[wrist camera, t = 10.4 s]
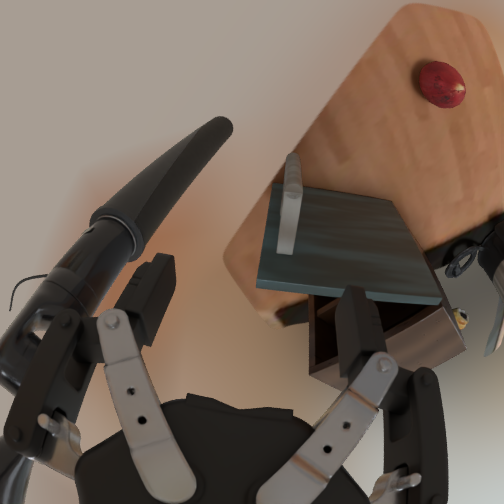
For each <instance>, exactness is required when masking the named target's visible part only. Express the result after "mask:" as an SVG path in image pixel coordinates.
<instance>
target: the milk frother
mask: <svg viewBox="0 0 504 504" xmlns="http://www.w3.org/2000/svg"><path fill="white" fill-rule="evenodd" d="M477 250H479V252H478V263H479V265H480V266H481V267H482V268H484V270H485V272H486V273H487V275H488V276H489V278H490V280H491V281H492V283H493V284H494V286H495V288H496V290H497V292H498V293H499V295H500V297H501V299H502V301H503V303H504V221H502V222H500V223H498V224H497V225H496V226H495V231H494V232H492V233H491V234H490V235H489V236H488V237H487V238H486V239H485V240H484V242H483V243H482V245H481V246H472V247H469V248H467V249H465V250H463V251H462V252H461V253H459V254H458V255H457V256H456V257H455V258H454V259H453V260H452V261H451V262H450V264H449V265H448V267H447V268H446V270H445V274H446V276H447V277H448V278H453V277H455V278H457V277H459V276H460V275H461V274H462V273H463V272H464V271H465V270H466V269H467V268H468V267H469V266H470V265H471V263H472V262H473V261H474V259H475V257H476V254H477ZM469 254H471V256H470V258H469V259H468V261H467V262H466V263H465V265H464V266H463V267H461V268H460V265H459V261H460V260H461V259H463V258H464V257H465V256H466V255H469Z"/></svg>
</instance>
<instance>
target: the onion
mask: <svg viewBox="0 0 504 504" xmlns="http://www.w3.org/2000/svg"><path fill="white" fill-rule="evenodd" d="M419 85H420V88H421V91H422V93H423V95H424V96H425V97H426V98H427V100H428V101H429V102H431V103H432V104H434V105H436V106H438V107H440V108H453V107H455V106H458V105H459V104H460V103H461V102H462V101H463V99H464V97H465V93H466V89H465V83H464V81H463V79H462V77H461V75H460V74H459V73H458V71H457V70H456V69H455V68H453V67H452V66H450V65H449V64H447V63H444V62H438V61H434V62H431V63H429V64H426V65H425V66H424V67H423V68H422V70H421V73H420V76H419Z"/></svg>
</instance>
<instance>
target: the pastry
mask: <svg viewBox="0 0 504 504" xmlns="http://www.w3.org/2000/svg"><path fill="white" fill-rule="evenodd" d="M452 311H453V313H454V316H455V318H456V321H457V323H458V326H459V328H460V330H461V329H463V328H465V325H466V324H467V323H468V320H469V316H468V314H467V313H466V312H465V311H464V310H461V309H460V308H455V309H452Z"/></svg>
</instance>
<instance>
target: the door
mask: <svg viewBox="0 0 504 504" xmlns="http://www.w3.org/2000/svg"><path fill="white" fill-rule="evenodd" d="M347 285H355V286H362V287H364V289H365V293H366V297H367V298H368V299H372V300H373V301H385V302H397V303H411V304H425V305H439V303H440V301H441V300H442V295H441V293H440V291H439V289H438V286H437V284H436V282H435V280H434V278H433V276H432V274H431V272H430V269H429V267H428V265H427V263H426V261H425V259H424V257H423V256H422V254H421V252H420V250H419V248H418V246H417V244H416V242H415V241H414V239H413V237H412V235H411V233H410V232H409V230H408V228H407V226H406V225H405V223H404V221H403V219H402V218H401V216H400V214H399V213H398V211H397V210H396V208H395V206H394V205H393V203H392V201H387V200H382V199H377V198H371V197H366V196H360V195H355V194H349V193H343V192H337V191H330V190H324V189H317V188H310V187H303V185H302V173H301V162H300V156H299V155H298V154H297V153H290V154H288V155H287V157H286V166H285V175H284V183H283V184H279V183H273V184H272V191H271V197H270V203H269V209H268V215H267V221H266V227H265V233H264V239H263V245H262V251H261V257H260V263H259V269H258V275H257V282H256V288H261V289H269V290H277V291H285V292H294V293H303V294H312V295H321V296H331V297H342V295H343V292H344V290H345V288H346V286H347Z"/></svg>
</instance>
